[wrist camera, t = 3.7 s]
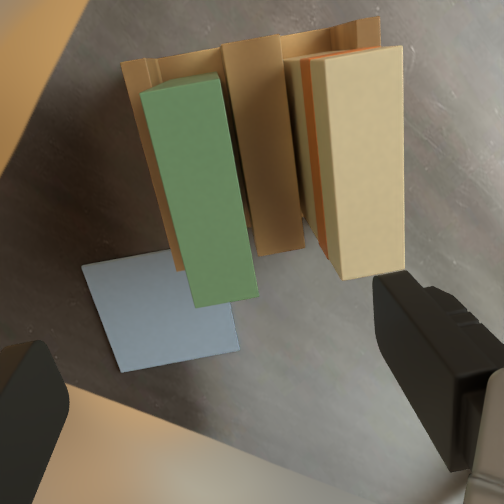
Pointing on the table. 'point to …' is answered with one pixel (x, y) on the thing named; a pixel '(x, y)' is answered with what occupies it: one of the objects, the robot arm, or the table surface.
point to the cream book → (351, 154)
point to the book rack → (250, 122)
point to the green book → (201, 186)
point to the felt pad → (156, 312)
